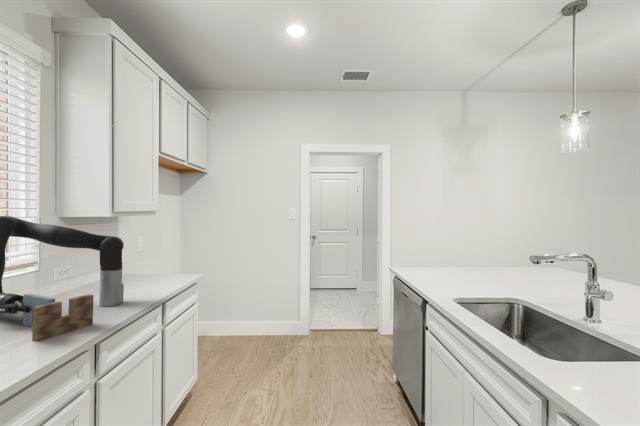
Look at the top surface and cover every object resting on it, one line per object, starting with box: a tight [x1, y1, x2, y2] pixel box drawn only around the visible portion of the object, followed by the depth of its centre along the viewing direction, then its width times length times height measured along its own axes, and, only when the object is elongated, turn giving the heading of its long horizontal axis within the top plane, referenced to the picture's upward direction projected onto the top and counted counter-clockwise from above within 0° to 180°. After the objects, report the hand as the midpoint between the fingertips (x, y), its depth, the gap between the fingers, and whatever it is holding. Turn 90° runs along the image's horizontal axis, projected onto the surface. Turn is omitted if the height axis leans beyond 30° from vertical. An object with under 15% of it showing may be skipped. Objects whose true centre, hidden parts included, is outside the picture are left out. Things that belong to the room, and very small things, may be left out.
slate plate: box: [22, 293, 56, 328], centre depth 131 cm, size 2×16×12 cm, turn 69°
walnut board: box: [31, 293, 95, 342], centre depth 127 cm, size 20×2×12 cm, turn 159°
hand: (35, 308), depth 132 cm, fingers open, 3 cm apart
